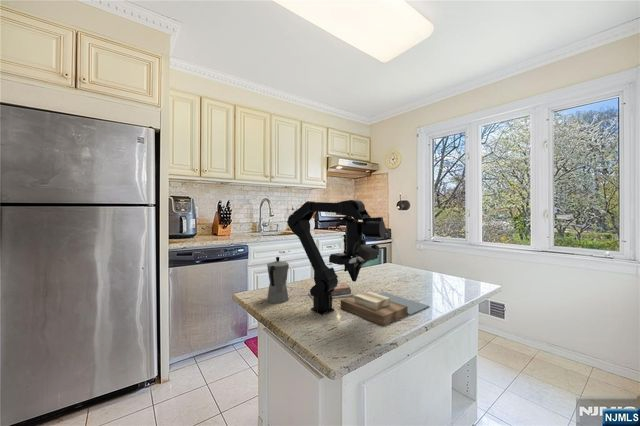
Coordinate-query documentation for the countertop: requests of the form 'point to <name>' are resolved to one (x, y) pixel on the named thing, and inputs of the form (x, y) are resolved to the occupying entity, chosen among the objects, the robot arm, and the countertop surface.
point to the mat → (406, 303)
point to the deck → (375, 311)
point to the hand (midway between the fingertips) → (354, 281)
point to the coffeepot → (277, 281)
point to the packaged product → (339, 291)
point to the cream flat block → (372, 300)
